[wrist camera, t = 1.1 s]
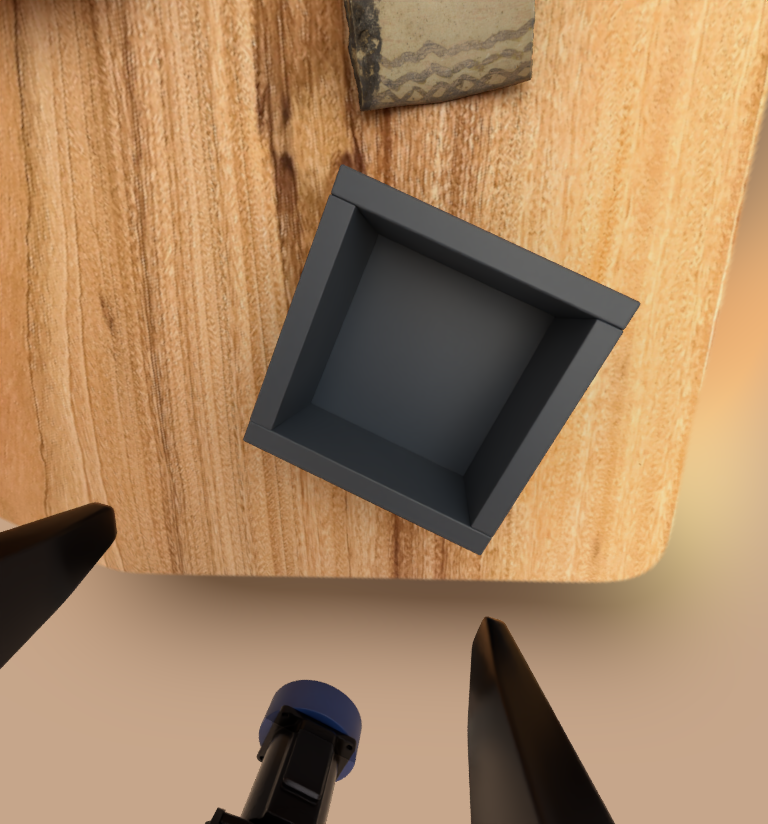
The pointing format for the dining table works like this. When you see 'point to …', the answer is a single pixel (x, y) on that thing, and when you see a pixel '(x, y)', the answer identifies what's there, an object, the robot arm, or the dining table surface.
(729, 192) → the dining table surface
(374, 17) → the pottery shard
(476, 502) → the bin
